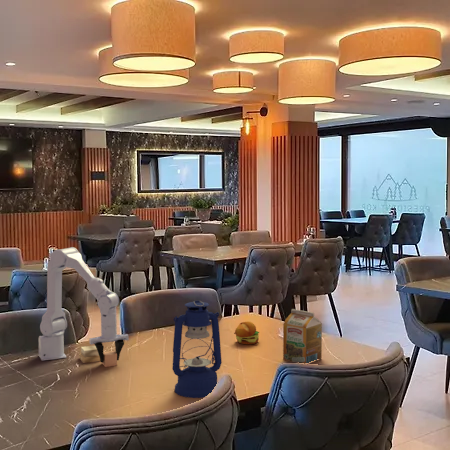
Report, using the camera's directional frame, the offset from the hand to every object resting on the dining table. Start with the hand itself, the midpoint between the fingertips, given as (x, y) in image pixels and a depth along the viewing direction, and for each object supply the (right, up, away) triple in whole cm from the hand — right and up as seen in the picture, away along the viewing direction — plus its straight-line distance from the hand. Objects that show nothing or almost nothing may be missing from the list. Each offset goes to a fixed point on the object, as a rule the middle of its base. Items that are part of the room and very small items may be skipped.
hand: (109, 360), depth 232 cm
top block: (-9, +1, +6) cm, 11 cm away
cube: (0, -2, 0) cm, 2 cm away
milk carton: (+74, -1, +6) cm, 74 cm away
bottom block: (-9, -2, +6) cm, 11 cm away
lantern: (+35, -4, -28) cm, 45 cm away
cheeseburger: (+53, +1, +30) cm, 61 cm away
